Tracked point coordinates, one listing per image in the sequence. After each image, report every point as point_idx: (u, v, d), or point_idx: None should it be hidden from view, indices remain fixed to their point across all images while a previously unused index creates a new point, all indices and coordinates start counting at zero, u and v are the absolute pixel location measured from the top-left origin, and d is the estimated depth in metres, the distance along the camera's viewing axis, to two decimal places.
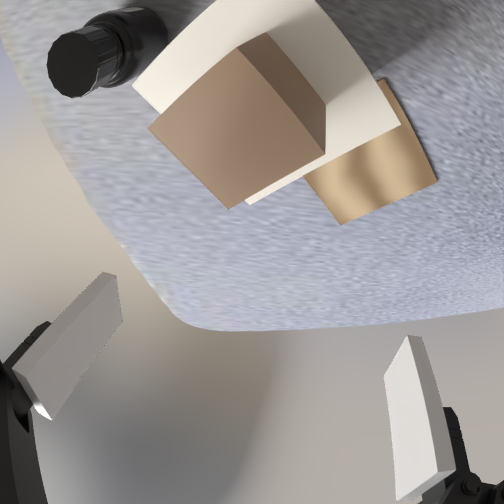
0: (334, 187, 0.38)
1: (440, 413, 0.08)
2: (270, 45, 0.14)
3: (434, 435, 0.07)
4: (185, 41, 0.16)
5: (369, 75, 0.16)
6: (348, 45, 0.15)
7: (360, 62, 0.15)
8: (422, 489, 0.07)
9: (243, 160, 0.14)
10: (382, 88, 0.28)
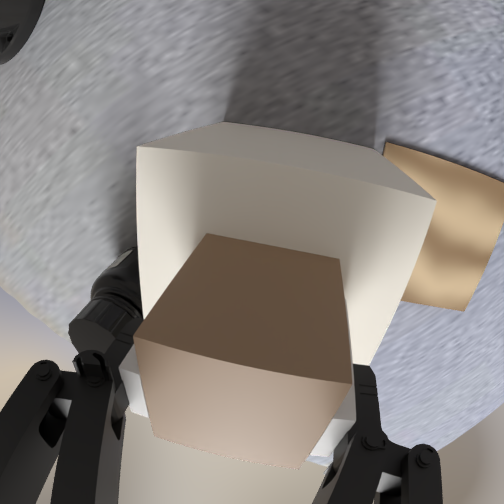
0: (433, 285, 0.29)
1: None
2: (214, 253, 0.13)
3: None
4: (151, 294, 0.16)
5: (352, 181, 0.12)
6: (296, 170, 0.12)
7: (328, 176, 0.12)
8: (330, 442, 0.09)
9: (266, 434, 0.09)
10: (394, 152, 0.24)
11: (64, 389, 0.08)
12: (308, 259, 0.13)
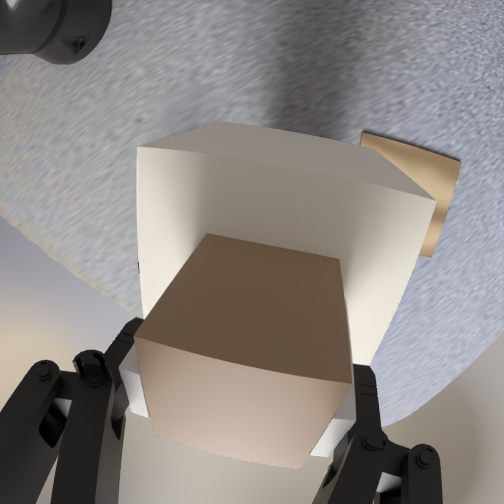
0: None
1: None
2: (214, 253, 0.13)
3: None
4: (152, 294, 0.16)
5: (352, 181, 0.12)
6: (296, 170, 0.12)
7: (328, 176, 0.12)
8: (330, 442, 0.09)
9: (266, 433, 0.09)
10: (368, 139, 0.37)
11: (64, 389, 0.08)
12: (308, 259, 0.13)
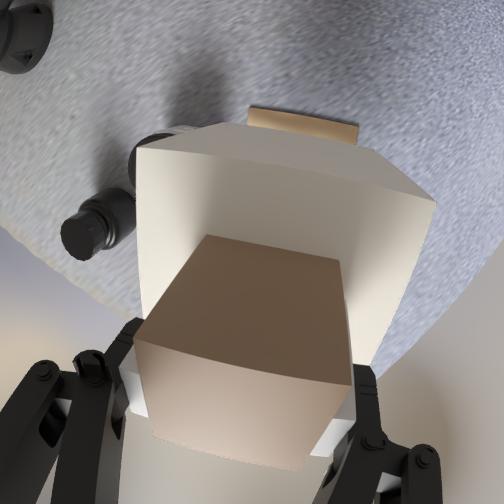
0: None
1: None
2: (214, 255, 0.13)
3: None
4: (151, 295, 0.16)
5: (352, 182, 0.12)
6: (296, 171, 0.12)
7: (328, 177, 0.12)
8: (330, 442, 0.09)
9: (266, 435, 0.09)
10: (254, 113, 0.40)
11: (64, 389, 0.08)
12: (308, 260, 0.13)
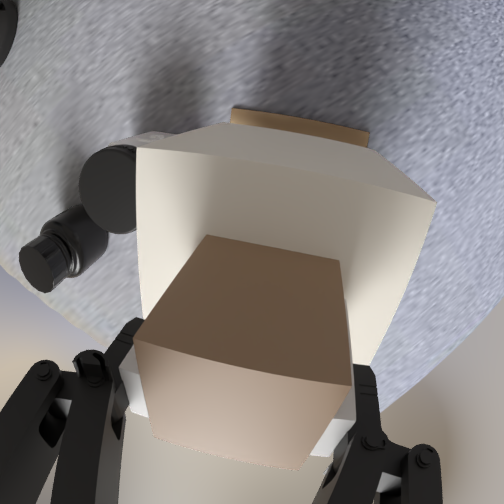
0: None
1: None
2: (214, 255, 0.13)
3: None
4: (151, 295, 0.16)
5: (352, 182, 0.12)
6: (296, 171, 0.12)
7: (328, 177, 0.12)
8: (330, 442, 0.09)
9: (266, 435, 0.09)
10: (239, 115, 0.32)
11: (64, 389, 0.08)
12: (308, 260, 0.13)
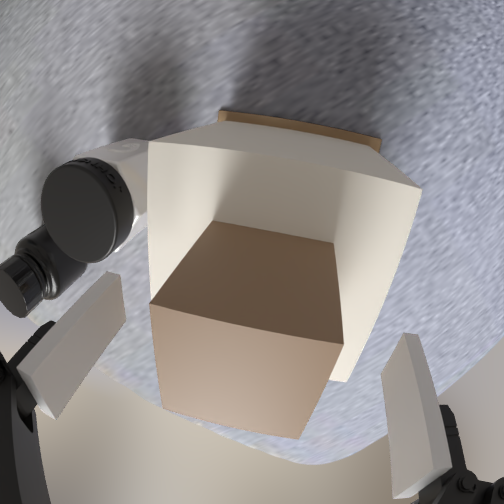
0: None
1: (436, 410, 0.08)
2: (220, 237, 0.14)
3: (430, 432, 0.07)
4: (160, 279, 0.18)
5: (343, 172, 0.13)
6: (293, 162, 0.13)
7: (322, 167, 0.13)
8: (418, 486, 0.07)
9: (268, 399, 0.10)
10: (227, 118, 0.27)
11: None
12: (305, 243, 0.14)
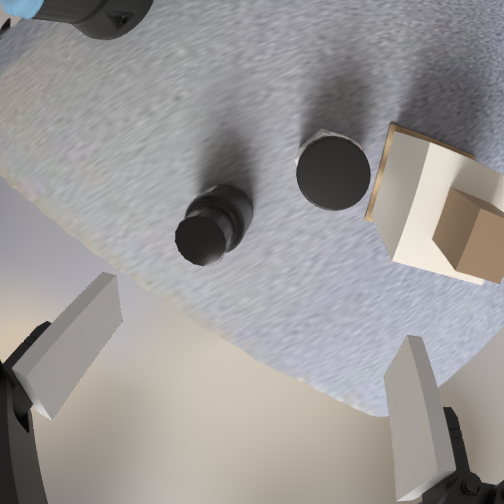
0: None
1: (440, 413, 0.08)
2: (462, 193, 0.25)
3: (434, 435, 0.07)
4: (414, 217, 0.29)
5: (498, 173, 0.25)
6: (484, 166, 0.25)
7: (492, 170, 0.25)
8: (422, 489, 0.07)
9: (499, 255, 0.22)
10: (395, 130, 0.38)
11: None
12: (485, 201, 0.26)
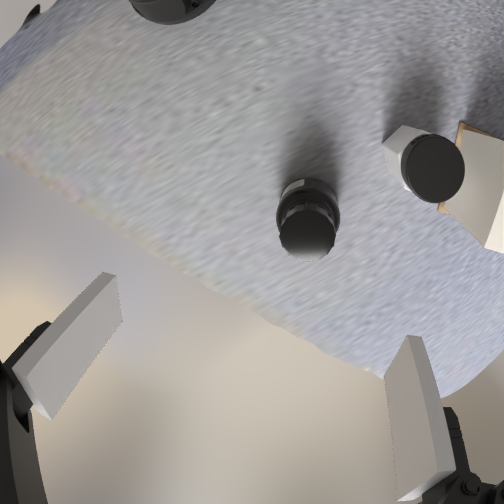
0: None
1: (440, 413, 0.08)
2: None
3: (434, 435, 0.07)
4: (502, 208, 0.28)
5: None
6: None
7: None
8: (422, 489, 0.07)
9: None
10: (464, 128, 0.37)
11: None
12: None
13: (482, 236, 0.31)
